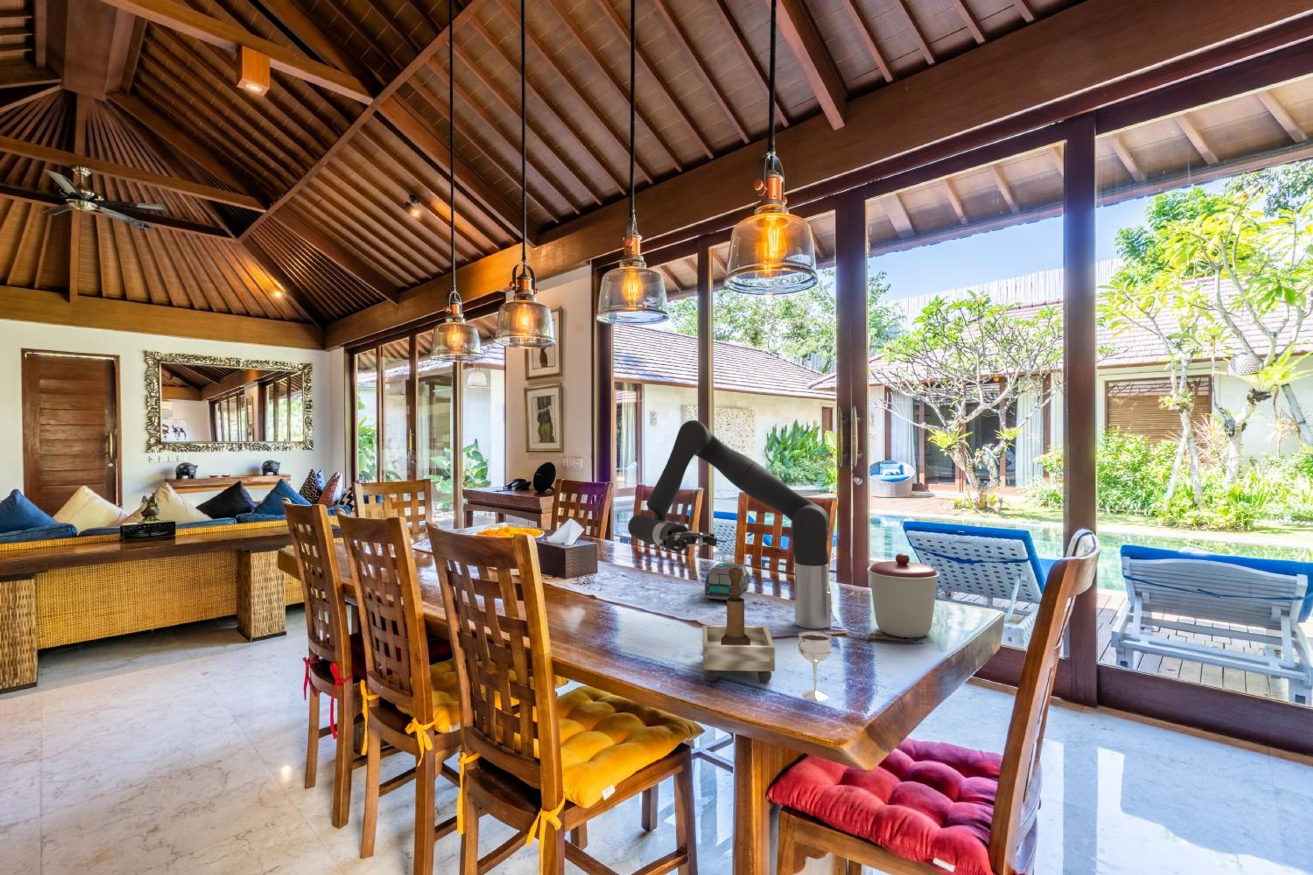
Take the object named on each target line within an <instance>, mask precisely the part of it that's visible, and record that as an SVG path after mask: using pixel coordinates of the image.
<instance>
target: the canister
mask: <svg viewBox="0 0 1313 875" xmlns="http://www.w3.org/2000/svg"><path fill="white" fill-rule="evenodd" d="M910 560H911V559H910V556H909V555H908V554H907V553H904V552H903V553H898V554H896V555H895V561H894V560H892V561H887V560H886V561H880V562H876V563H874V564H872V565H871V566H869V567H867V568H866V570H867V573H868V574H869V578H870V586H871V587H870V588H871V597H872V604H873V610H874V611H873V613H874V617H875V622H876V625H877V627H878V628H879V630H880V631H881V632H882V633H885V634H887V635H890V636H893V637H897V636H898V637H899V638H904V637H907V639H908V638H909V639H915V637H916V638H922V637H925V636H927V635H928V634H929V633H930V631H931V629H932V625H933V619H934V610H935V602H936V592H937V582H938V578H939V577H940V576H941V574H940V572H939V571H938V570H936V569H935V568H933V566H930V565H927V564H922V563H919V562H913V561H912V562H911V561H910Z"/></svg>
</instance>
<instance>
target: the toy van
mask: <svg viewBox="0 0 1313 875" xmlns="http://www.w3.org/2000/svg"><path fill="white" fill-rule="evenodd" d="M732 568H739V569H740V570H741V572H742V578H741V580H740V582H739V585H738V586H739V588H740V589H741V590H740V595H741V594H742V593H743V591H748V590H749V585H750V584H751V580H750V573H749V571H747V570H746V567H745V565H744V564H742V563H734V562H719V563H718V564H716V565H715V566H713V567H712V568H710V569H709V571H708V572H707V573H706V577H705V582H704V598H705V599H707V600H708V599H714V600H724V601H725V600H726V601H727V598H729V597H732V595H731V591H730V588H731V587H732V582H731V580H730V578H729V571H730V569H732Z"/></svg>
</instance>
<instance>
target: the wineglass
mask: <svg viewBox="0 0 1313 875" xmlns="http://www.w3.org/2000/svg"><path fill="white" fill-rule="evenodd" d="M797 636H798V638H799V639H798V642H797V648H798V652H799V654H800V655H801V656H802V657H803V658H804V659H805V660H808V661H809V662H810V663H811V664H812V669H813V671H812V672H813V686H814V687H813V689H812V690H805V691H804V692H803V693H802V696H803V697H804V698H805V699H808V700H811V701H824V700H826V699H829V695H828V694H827V693H826V692H824V691H820V690H817V681H818V680H817V678H818V677H817V674H818V672H817V671H818V665H819V664H820V663H821V662H824V661H826V660H827V658H829V657H830V656H831V655H832V654H831V653H832V651H833V644H832V642H831V640H832V638H833V637H832V635H831V634H830V633H828V632H825V631H820V630H804V631H803V630H802V631H799V632H798V633H797Z"/></svg>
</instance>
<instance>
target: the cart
mask: <svg viewBox="0 0 1313 875" xmlns="http://www.w3.org/2000/svg"><path fill="white" fill-rule="evenodd" d="M725 634H727V625H702V669H703V671H705V677H706V679H707V680H708V681H710V682H716V681H717V680H718V679H719V678H720V671H737V672H738V671H739V672H740V671H741V672H742V671H743V672H744V671H745V672H748V671H749V672H756V674H757V675H756V676H757V679H758V680H759V681H760V682H761V683H768V682H769V681H770V680H772V672H776V666H775V665H776V663H775V662H776V661H775V659H776V658H775V657H776V655H775V654H776V652H775V651H776V650H775V648H776V647H775V644H774V642H773V639H772V635H771V634H770V631H769V628H768V626H763V625H762V626H761V625H758V626H757V625H744V634H745V635H747V637H748V638H750V645H721V638H722V637H723V636H724V635H725Z"/></svg>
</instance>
